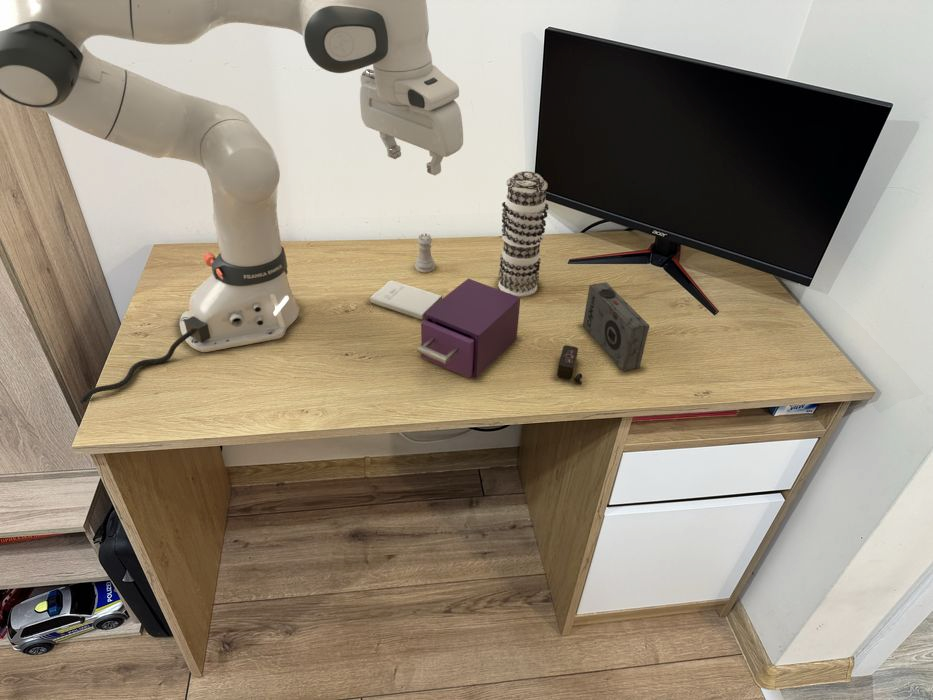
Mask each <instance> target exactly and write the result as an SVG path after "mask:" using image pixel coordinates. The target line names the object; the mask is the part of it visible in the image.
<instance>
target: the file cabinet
mask: <svg viewBox="0 0 933 700" xmlns="http://www.w3.org/2000/svg"><path fill="white" fill-rule="evenodd" d="M521 298H522V297H521V296H514V295H512V294H509V293H506V292H504V291H501V289H498V288H495V287H493V286H490V285H488V284H484V283H482V282H479V281H476V280H474V279H472V278H469V277H468V278H467V279H466V280H464V281H463V282H462V283H460V284H459V285H457V286H456V288H454V289H453V290H451V291H450V292H449V293H448V294H446V295H445V296H443V297H442V299H441V300H440V301H439V302H438V303H436V304H435V305H434V306H432V307H431V308H430V309H429V310H427V311H426V312H425V313H424V319H423V321H424V320H427V321H429V322H431V323H433V321H436V322H438V323H441V324H443V325H446V326H448V327H450V328H453V329H455V330H458V331H460V332H463V333H465V334H468V335H470V336H472V337H475V348H474V367H473V369H472V376H471V377H472V378H475V379H478V378H479V377H480V376H481V375H482V374H483V372H485V371H486V370H487V369H488V368H489V366H492V364H493V363H494V362H495V361H496V360H497V359H498V358H499V357H500V356H501V355H503V353H504V352H505V351H506V350H507V349H508V348H509V347H510V346H511V345H512V344H513V343H515V341H516V340H517V339H518V329H519V318H520V308H521Z"/></svg>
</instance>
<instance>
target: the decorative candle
mask: <svg viewBox="0 0 933 700" xmlns="http://www.w3.org/2000/svg"><path fill="white" fill-rule="evenodd" d="M506 186H507V195H506V199H505V200H506V201H503V202H502V203H501V207H503V208H502V210H501V211H502V213H501V216H502V217H501V218H502V219H501V223H502V225H501V227H502V228H501V233H502V234H501V237H502V239H501V240H503V246H502V250H501V251H502V252H501V254H500V257H499V260H500V262H499V270H498V288H499V290H501V291H504V292H506V293H509V294H512V295H514V296H517V297H520V298H522V297H527V296H531V295H532V294H535V292H536V291H537V290H538V284H539V282H538V281H539V278H540V276H539V275H540V272H539V271H540V269H541V268H540V267H541V265H540V264H541V260H542V259H541V257H540V256H541V244H542V242H543V240H544V237H543V236H544V235H543V234H545V230H546V229H545V227H546V225H547V222H546V220H545V219H547V217H548V210H549V204H548V203H547V202H546V201H547V200H546V199H547V198H546V196H547V189H548V187H549V186H548V183H547V181H546V180H544V178H543V177H542V176H541V175H540V174H539V173H536V172H533V171H519V172H516V173H515V174H514V175H512V176H511V177H509V178H508V179H507V180H506Z"/></svg>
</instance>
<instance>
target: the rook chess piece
mask: <svg viewBox="0 0 933 700" xmlns="http://www.w3.org/2000/svg"><path fill="white" fill-rule="evenodd" d="M432 242H433V239H432V236H431V234H428V233H424V234H423V233H421V234H419V236H418V238H417V243H418V246H417V247H418V248H419V249H418V256H417V258H416V260H415V262H414V268H415V270H416V271H417V272H418V273H423V274H429V273H431V272H433V271H434V270H435V268H436V265H435V264H436V263H435V260H434V259H433V257H432V251H431V249H432V245H431V244H432Z"/></svg>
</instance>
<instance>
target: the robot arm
mask: <svg viewBox="0 0 933 700" xmlns="http://www.w3.org/2000/svg"><path fill="white" fill-rule="evenodd" d="M228 24H248V25H254V26H255V25H257V26H263V27H272V28H278V29H285V30H286V29H287V30H291V31H293V32H296V33H298V34H299V35H301V36H302V38H303V42H304V46H305V49H306V51H307V53H308V56H309V57H310V59H311V60H312V61H313V62H314V63H315V65H317V66H318V67H320V68H321V69H323V70H324V71H327V72H330V73H335V74H347V73H349V72H354V71H356V70H360V69H363V68H366V69H365V70H363V72H362V73H361V75H360V85H361V86H360V89H359V106H360V108H359V109H360V117H361V120H362V122H363V124H364V126H365V128H369V129H372V130H374V131H377V132H379V137H380V139H381V141H382V143H383V145H384V146H385V148H386V153H387V157H389V158H391V159H393V160H397V159H399V158H400V157H401V156H402V151H401V150H402V149H401V145H398V143H397V140H396V139H398V140H399V141H402V142H405V143H407V144H410V145H413V146H416V147H418V148H420V149H422V150H423V149H424V150H426V151H428V152H429V156H430V157H431V160H430V161H429V162H426V164H425V165H426V172H427V173H428V174H430V175H433V176H437V175H440V173H441V172H442V162H443V159H444V158H448V157H450V156H452V155H453V154H456V153H457V152H459V151H460V150H461V148H462V147H463V145H464V129H463V128H464V127H463V118H462V112H461V108H460V106H459V103H458V102H457V101H456V99H457V98H459V96H460V88H459V85H458V84H457V83H456V82H455V81H454V80H453V79H451V78H449V77H448V76H447V75H445V73H443V72H442V71H441V70H440V69H439V68H438V66H436V65H434V64H433V57H432V53H431V50H430V47H429V41H428V38H429V37H428V36H429V31H430V24H429V13H428V5H427V0H0V95H1V97H4V98H5V99H7V100H8V101H11V102H14V103H15V104H19V105H22V106H25V107H29V108H34V109H35V108H38V109H40V110H41V111H43V112H45V113H46V114H48V115H50V116H51V117H54V118H55V119H57V120H59V121H61V122H63V123H65V124H66V125H69V126H71V127H72V128H75V129H76V130H79V131H82V132H83V133H86V134H89V135H91V136H93V137H96V138H99V139H101V140H104V141H107V142H109V143H112V144H114V145H115V144H116V145H118V146H120V147H124V148H126V149H129V150H131V151H135V152H137V153H139V154H140V153H141V154H143V155H146V156H148V157H151V158H155V159H162V158H169V159H175V160H181V161H185V162H189V163H193V164H196V165H198V166H200V167H202V168H203V169H204V170H205V171H206V172H207V173H206V174H207V176H208V179H209V182H210V187H211V194H212V206H213V214H212V217H213V218H212V219H213V224H214V228H215V229H214V230H215V233H216V234H215V235H216V237H217V244H218V249H219V253H218V255H217V256H216V257H215V254H214V253H212V252H207V253H205V254H204V256H203V257H202V259H203V261H204V262H205V264H206V266H208V267H211V272H212V274H210V275H209V276H208V277H207V278H206V279H205V280H204V281H203V282H202V283H201V284H199V286H197V287H196V288H195V289H194V290H193V291H192V292H191V293H190V296H189V301H188V310H186V311H184V312H183V313H182V314H181V315H180V318H179V329H180V334H181V336H180V337H179V338H177V339H176V340H175V341H174V342H173V343H172V344H171V345H170V347H169V349H168V351H167V353H166V354H165V355H164V356H162V357H157V358H148V359H147V358H146V359H143V360H139V361H137V362H136V363H134V364H132V366H131V367H130V368H129V370H128V372H127V374H126V376H125V377H124V378H123V379H121V380H120V381H118V382H115V383H111V384H107V385H106V384H105V385H100V386H96V387H93V388H91V389H89V390H88V391H86V392H84V394H83V396H82V397H81V398H80V400H79V403H80V404H83V403H86V402H87V401H88V400H89V398H90V397H92V396H93V395H95V394H97V393H101V392H107V391H113V390H117V389H120V388H123V387H124V386H126V385H127V384H128V383H130V381H131V380H132V378H133V376H134V374H135V372H136V371H137V370H138V369H140V368H141V367H143V366H147V365H157V364H158V365H159V364H161V363H165V362H167V361H168V360H170V359H171V358H172V357H173V355H174V352H175V351H176V349H177V348H178V347H179V346H180V345H181V344H182V343H184V341H185V342H186V343H187V344H188V345H189V347H191V348H192V349H193V350H196V351H199V352H201V353H209V352H213V351H219V350H225V349H230V348H235V347H241V346H246V345H252V344H257V343H262V342H268V341H269V342H270V341H274V340H279V339H282V338H283V337H284V336H285V334H286V331H287V329H288V328H289V327H290V326H291V325H292V324H293V323H294V322H295V321H296V320H297V318H298V316H299V314H300V307H299V304H298V303H297V301H296V299H295V297H294V294H293V291H292V289H291V286H290V283H289V278H288V261H287V254H286V251H285V247H284V246H282V240H281V233H280V226H279V218H278V189H279V188H278V185H279V182H280V178H281V177H280V176H281V171H280V166H279V161H278V157H277V154H276V152H275V150H274V147H272V145H271V144H270V143H269V141H268V140H267V139H266V138H265V136H264V135H263V134H262V133H261V132H260V131H259V129H258V128H257V127H256V125H255V124H254V123H253V122H252V121H251V119H250V118H249V117H248V116H246V115H245V114H244V113H243V112H241V111H240V110H238V109H235V108H233V107H230V106H227V105H225V104H220V103H217V102H214V101H211V100H208V99H205V98H201V97H198V96H194V95H190V94H187V93H183V92H181V91H178V90H175V89H172V88H170V87H168V86H166V85H163V84H161V83H158V82H156V81H154V80H151V79H150V78H146V77H144V76H142V75H140V74H137V73H135V72H132V71H131V70H128V69H126V68H124V67H122V66H121V67H120V66H118V65H116V64H114V63H111V62H108V61H106V60H103V59H101V58H99V57H98V56H96V55H94V54H92V53H91V52H90V50H88V48H87V47H86V45H85V44H84V43H85V42H86V41H87V40H88V39H91V38H92V37H96V36H103V37H105V36H106V37H112V38H118V39H123V40H128V41H134V42H135V41H136V42H139V43H144V44H145V43H146V44H152V45H163V46H165V45H166V46H167V45H169V46H171V45H172V46H173V45H189V44H192V43H194V42H195V41H197V40H199V39H200V38H201V37H203V36H204V35H206V34H207V33H208V32H210V31H213V29H216V28H218V27H221V26H223V25H228ZM369 66H372V69H371V68H367V67H369Z"/></svg>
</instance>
